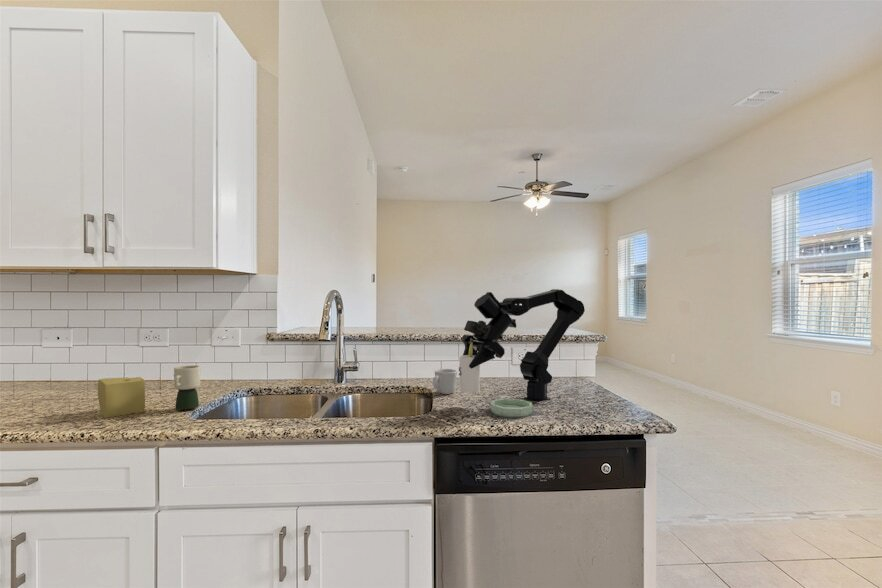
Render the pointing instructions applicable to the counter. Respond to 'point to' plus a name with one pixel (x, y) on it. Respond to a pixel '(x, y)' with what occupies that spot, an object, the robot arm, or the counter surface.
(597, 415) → the counter surface
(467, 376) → the candle
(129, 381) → the cheese
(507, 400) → the dish
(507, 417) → the mat
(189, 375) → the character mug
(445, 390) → the cup
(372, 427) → the counter surface
